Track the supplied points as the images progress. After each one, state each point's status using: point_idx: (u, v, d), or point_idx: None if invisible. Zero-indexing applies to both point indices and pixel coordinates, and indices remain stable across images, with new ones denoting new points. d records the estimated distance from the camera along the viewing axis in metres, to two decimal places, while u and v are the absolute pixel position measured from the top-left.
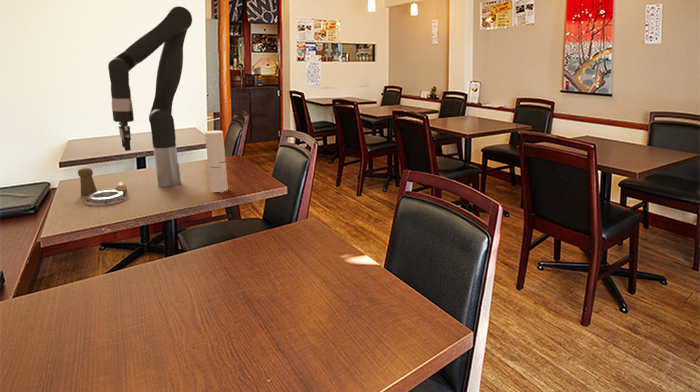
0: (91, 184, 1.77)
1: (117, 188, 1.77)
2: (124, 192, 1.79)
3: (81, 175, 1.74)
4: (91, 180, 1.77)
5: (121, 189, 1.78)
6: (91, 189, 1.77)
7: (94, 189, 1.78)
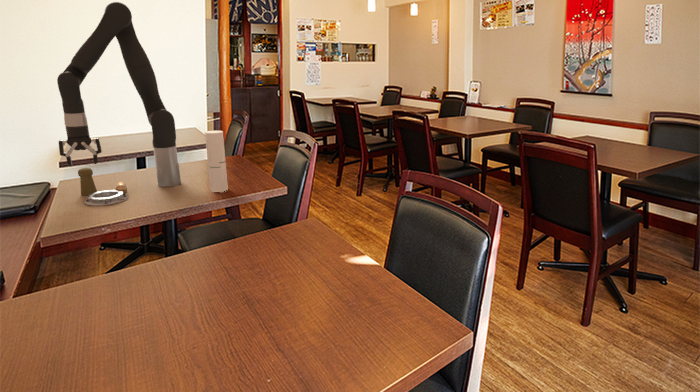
0: (91, 184, 1.77)
1: (117, 188, 1.77)
2: (124, 192, 1.79)
3: (81, 175, 1.74)
4: (91, 180, 1.77)
5: (121, 189, 1.78)
6: (91, 189, 1.77)
7: (94, 189, 1.78)
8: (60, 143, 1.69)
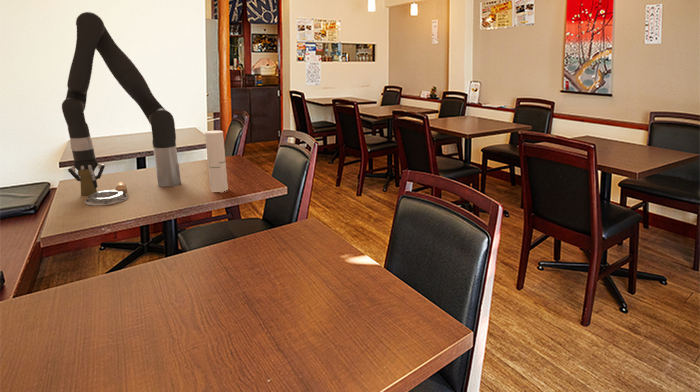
0: (91, 184, 1.77)
1: (117, 188, 1.77)
2: (124, 192, 1.79)
3: (81, 175, 1.74)
4: (91, 180, 1.77)
5: (121, 189, 1.78)
6: (91, 189, 1.77)
7: (94, 189, 1.78)
8: (70, 171, 1.73)
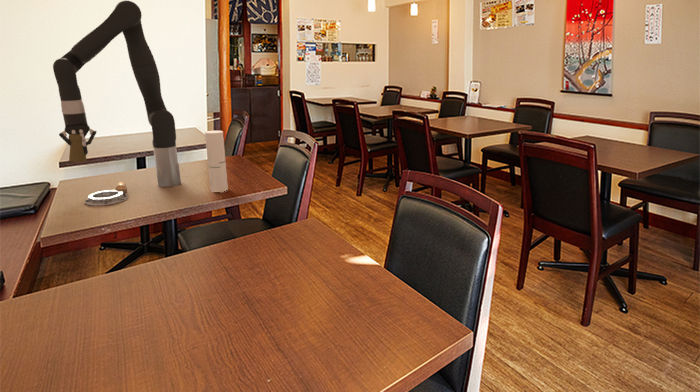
0: (81, 150, 1.72)
1: (117, 188, 1.77)
2: (124, 192, 1.79)
3: (72, 139, 1.70)
4: (82, 146, 1.72)
5: (121, 189, 1.78)
6: (81, 155, 1.72)
7: (84, 155, 1.74)
8: (61, 136, 1.69)
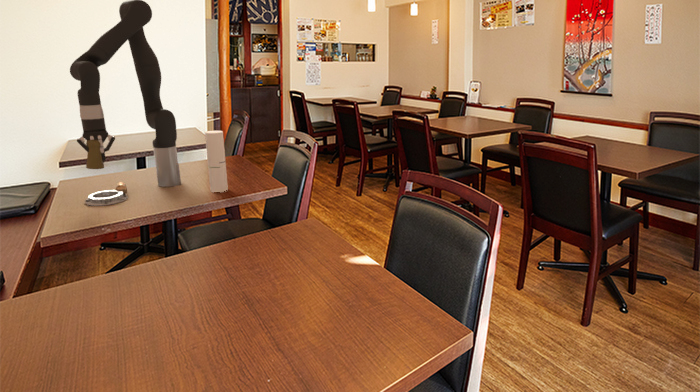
0: (99, 157, 1.65)
1: (117, 188, 1.77)
2: (124, 192, 1.79)
3: (90, 145, 1.63)
4: (100, 152, 1.65)
5: (121, 189, 1.78)
6: (98, 162, 1.65)
7: (101, 162, 1.66)
8: (79, 142, 1.62)
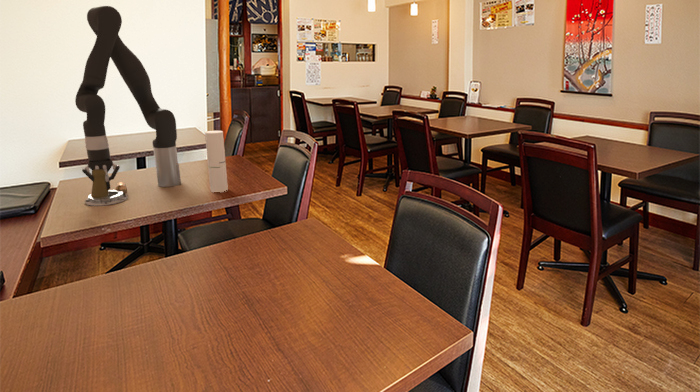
0: (104, 186, 1.69)
1: (117, 188, 1.77)
2: (124, 192, 1.79)
3: (95, 175, 1.66)
4: (104, 181, 1.69)
5: (121, 189, 1.78)
6: (103, 190, 1.69)
7: (106, 191, 1.70)
8: (85, 171, 1.65)
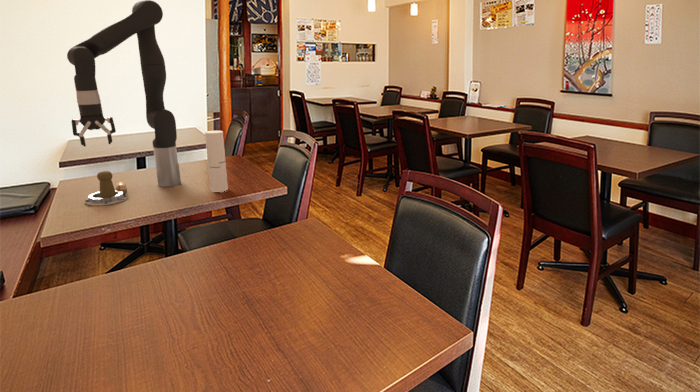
0: (111, 188, 1.70)
1: (117, 188, 1.77)
2: (124, 192, 1.79)
3: (101, 179, 1.67)
4: (111, 184, 1.70)
5: (121, 189, 1.78)
6: (111, 193, 1.70)
7: (114, 193, 1.71)
8: (73, 122, 1.62)
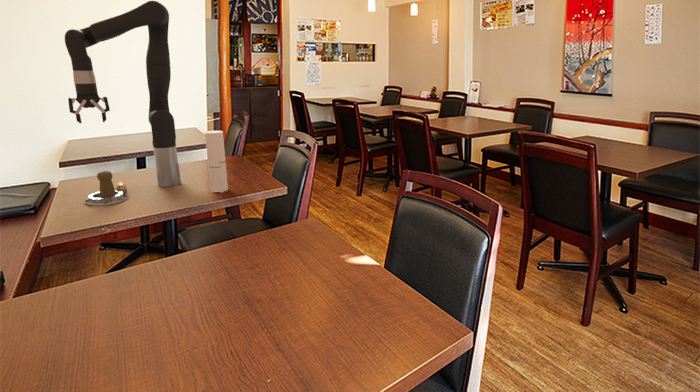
0: (111, 188, 1.70)
1: (117, 188, 1.77)
2: (124, 192, 1.79)
3: (101, 179, 1.67)
4: (111, 184, 1.70)
5: (121, 189, 1.78)
6: (111, 193, 1.70)
7: (114, 193, 1.71)
8: (70, 100, 1.74)
